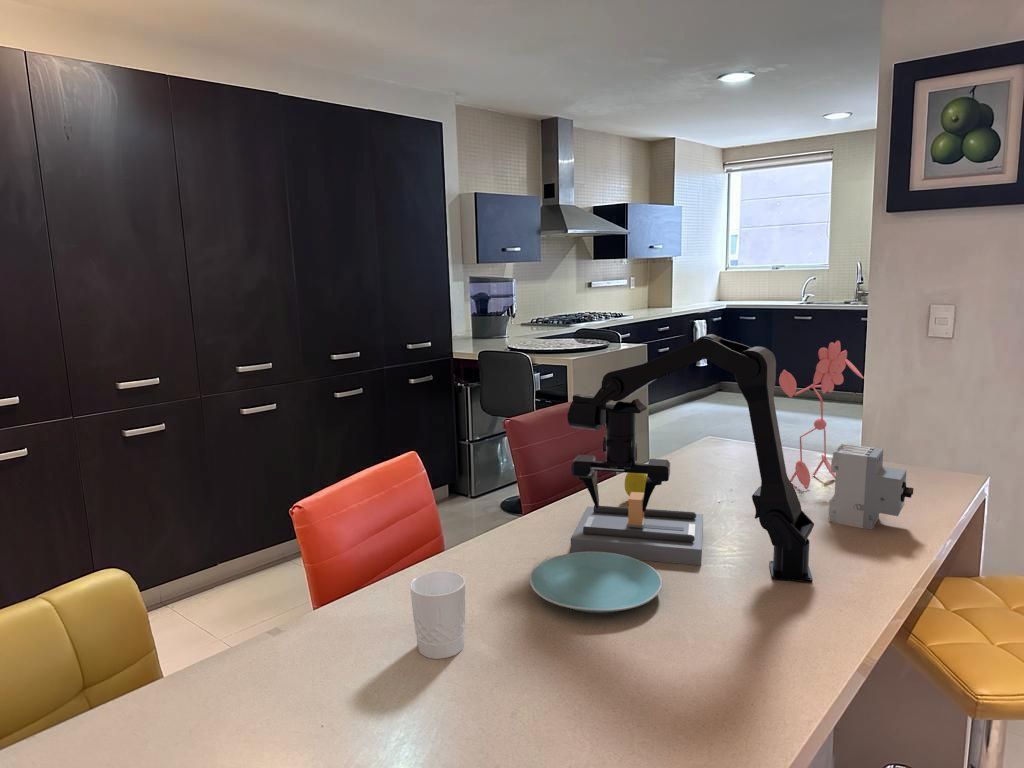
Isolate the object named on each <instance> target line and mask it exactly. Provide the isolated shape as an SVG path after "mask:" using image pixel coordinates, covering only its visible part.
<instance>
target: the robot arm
mask: <svg viewBox="0 0 1024 768" xmlns="http://www.w3.org/2000/svg"><path fill="white" fill-rule="evenodd" d="M703 360H706V361H709V362H711V363H712V364H714V365H716V366H717V367H719V368H721V369H722V370H725V371H726V372H728V373H732V374H733V375H734V378H735V381H736V384H737V386H738V389H739V391H740V392H741V394H742V396H743V398H744V399H745V401H746V405H747V407H748V412H749V413H748V414H749V418H750V419H749V420H750V423H751V430H752V435H753V441H754V446H755V452H756V457H757V462H758V463H757V465H758V469H759V474H760V480H761V481H760V483H761V484H760V486H758V488H757V489H756V491H754V493H752V495H751V499H752V500H751V501H752V503H753V506H754V508H755V515H754V519H758V520H759V524H760V526H761V528H762V529H764V530H765V531H766V532H767V533H768V535H769V539H770V542H771V545H772V546H773V554H772V555H773V557H772V558H773V560H769V570H770V574H771V575H770V577H771V578H772V579H774V580H784V581H794V582H795V581H796V582H803V583H805V582H806V583H812V582H813V575H812V573H811V572H812V571H811V569H810V566H809V563H810V562H809V561H810V539H809V536H810V535H811V533H812V531H813V530H814V526H815V523H814V522H813V520H812V519H810V517H809V516H808V515H807V513H805V512H804V511H803V510H802V506H801V502H800V500H799V497H798V495H797V492H796V489H795V487H794V486H793V484H792V483H791V482H790V480H791V479H789V477H788V474H787V467H786V464H785V459H784V458H785V456H784V450H783V447H782V445H783V444H782V441H781V440H782V439H781V433H780V428H779V422H778V416H777V412H776V405H775V400H774V399H775V398H774V396H775V395H774V394H775V387H776V381H777V380H776V379H777V374H776V373H777V361H776V356H775V354H774V353H773V352H772V351H771V350H769V348H766V347H764V346H753V347H751V346H749V345H746V344H743V343H739V342H736V341H733V340H732V341H731V340H728V339H725V338H723V337H721V336H718V335H716V334H713V333H710V334H709V333H708V334H706V335H703V336H700V337H698V338H697V339H696V340H694V341H692V342H690V343H688V344H685V345H683V346H680V347H679V348H677V349H673V350H672V351H669V352H667V353H664V354H663V355H659V356H658V357H656V358H654V359H653V358H652V359H651V360H649V361H647V362H643V363H637V364H632V365H628V366H624V367H621V368H618V369H615V370H612V371H609V372H607V373H606V374H604V375H603V377H602V379H601V380H602V381H601V386H600V388H599V390H598V391H597V392H596V393H595V395H586V394H583V393H577V394H573V395H572V402H571V403H570V405H569V408H568V412H567V423H568V425H569V427H571V428H575V429H582V430H583V429H584V430H590V431H592V430H593V431H600V430H601V429H602V428H603V427H604V426H605V436H603V439H602V452H603V453H605V461H600V460H596V455H589V454H588V455H586V454H585V455H584V454H577V456H576V457H575V458H574V460H573V461H572V462H571V468H570V473H571V474H570V475H571V476H575V477H577V480H578V481H582V482H583V484H584V485H585V488H586V489H587V490H588V492H589V494H590V497H591V500H592V502H593V504H594V505H595V507H596V508H598V507H599V506H600V495H599V487H598V472H611V473H626V474H627V473H642V474H647V480H646V484H645V492H644V499H643V512H645V510H646V509H647V507H648V504H649V501H650V498H651V495H652V494H653V492H654V490H655V487H656V486H662V484H663V482H668V481H669V478H670V475H671V462H670V461H669V460H668V459H663V458H662V459H661V458H658V459H657V458H650V459H649V460H648V463H638V462H637V460H638V443H637V442H636V439H637V438H636V433H637V431H636V428H637V426H636V425H637V424H636V420H637V419H636V418H637V417H636V416H637V415H636V414H641V413H642V412H643V413H644V412H645V411H646V410H647V409H648V408H647V406H646V405H645V404H643V403H642V402H641V400H640V399H639V398H635V399H633V400H632V401H631V402H630V401H624V399H627V398H630V397H631V396H634V395H636V394H637V393H638V392H640V391H642V390H643V389H645V388H646V387H647V386H649V385H650V384H651V383H653V382H654V381H656V380H658V379H659V378H662V377H664V376H667V375H669V374H672V373H674V372H677V371H678V370H681V369H684V368H685V367H689V366H691V365H693V364H695V363H698V362H700V361H703ZM622 400H623V401H622ZM611 402H616V403H615V404H610V403H611ZM608 403H609V404H608ZM636 462H637V463H636Z"/></svg>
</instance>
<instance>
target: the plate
mask: <svg viewBox="0 0 1024 768" xmlns="http://www.w3.org/2000/svg"><path fill="white" fill-rule="evenodd" d="M529 585H530V587H531V588H532V590H533V591H534V592H535V594H537V595H538V596H539V597H540V598H542V599H543V600H544V601H546V602H549V603H551V604H553V605H556V606H559V607H563V608H567V609H569V608H570V610H572V609H573V611H577V612H581V613H591V614H608V613H609V612H610V613H615V612H619V611H620V612H621V611H627V610H630V609H634V608H638V607H641V606H643V605H645V604H647V603H650V602H651V601H652V600H653V599H654V598H656V597H657V596H658V595H659V593H660V592H661V590H662V587H663V579H662V576H661V575H660V573H659V572H658V571H657V570H656V569H655V568H654V567H652V566H651V565H649V564H647V563H645V562H644V561H643V560H637V559H634V558H631V557H628V556H624V555H620V554H614V553H607V552H576V553H571V552H570V553H564V554H560V555H557V556H553V557H550V558H547V559H545V560H543V561H541V562H540V563H538V564H537V565H536V566H534V568H533V569H532V570H531V572H530V574H529Z"/></svg>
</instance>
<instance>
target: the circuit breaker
mask: <svg viewBox="0 0 1024 768" xmlns="http://www.w3.org/2000/svg"><path fill="white" fill-rule="evenodd" d="M883 461H884V448H878V447H870V446H861V445H854V444H843V443H841V444H840V445H839V446H838V447H837V448H836V449H835V450H834V451H833V452H832V458H831V461H830V462H831V464H830V465H831V472H834V473H835V475H836V478H834V480H835V481H834V495H833V496H831V498H830V500H829V501H828V502H829V503H828V504H829V505H828V520H827V521H828V523H831V522H832V523H835V524H839V525H843V526H844V525H845V526H850V527H855V528H860V529H866V530H869V531H870V530H873V528H874V527H875V525H876V523H877V522H878V520H879V518H880V514H881V515H889V516H893V517H894V516H896V517H898V516H899V515H900V513H901V511H902V509H903V508H904V506H905V499H906V498H908V499H909V498H910V499H912V495H913V494H914V488H913V487H908V486H907V469H904V468H902V469H901V468H895V467H888V466H883V464H884V463H883Z"/></svg>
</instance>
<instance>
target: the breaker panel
mask: <svg viewBox="0 0 1024 768" xmlns="http://www.w3.org/2000/svg"><path fill="white" fill-rule="evenodd" d="M695 514H696V518H695V519H683V518H669V517H655V516H644V518H645V523H644V527H643V528H638V527H628V515H627V514H614V513H600V512H594V506H586V508H585V510H584V512H583V514H582V516H581V518H580V519H579V521H578V523H577V525H576V527H575V529H574V532H573V534H572V536H571V537H570V553H576V552H607V553H614V554H620V555H624V556H628V557H631V558H634V559H637V560H639V561H647V562H648V561H651V562H660V563H661V562H662V563H674V564H684V565H697V566H702V561H703V560H702V556H703V555H702V553H703V533H704V513H703V514H700V513H695ZM584 526H585V527H598V528H611V529H623V530H636V531H649V532H662V533H675V534H687V535H693V536H694V538H695V540H694V541H693V542H678V541H666V540H654V539H641V538H629V537H617V536H604V535H592V534H583V527H584Z"/></svg>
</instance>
